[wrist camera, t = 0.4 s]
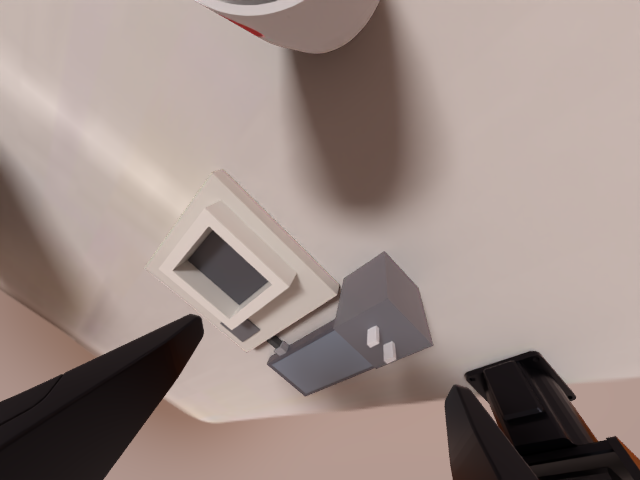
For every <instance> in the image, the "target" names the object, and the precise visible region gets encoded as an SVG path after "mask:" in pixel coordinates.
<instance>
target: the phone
mask: <svg viewBox="0 0 640 480" xmlns="http://www.w3.org/2000/svg"><path fill="white" fill-rule="evenodd" d="M334 323H335V319H334V320H333V321H331V322H329V323H327V324H326V325H324V326H322V327H320V328H319V329H317V330H315V331H314V332H312V333H310V334H308V335H307V336H305V337H303V338H302V339H300V340H298V341H296V342H295V343H293V344H291V345H290V346H289V347H288V350H287V352H286V353H285V354H283V355H281V356H279V355H278V354H277V353H276V354H274V355H272V356H271V357H270V358H269V360H268V362H267V365H268V366H269V367H271V368H272V369H273V370H274V371H275V372H277V373H278V374H279V375H280V376H281V377H283V378H284V379H285V380H286V381H287V382H289V383H290V384H291V385H292V386H293V387H295V388H296V389H297V390H298V391H299V392H301V393H302V394H303V395H304V396H307V395H310V394H312V393H315V392H317V391H320V390H322V389H324V388H327V387H329V386H332V385H334V384H337V383H339V382H341V381H344V380H346V379H349V378H351V377H354V376H356V375H358V374H361V373H363V372H366V371H368V370H371V369H373V368H375V367H374V366H373V365H371V364H370V363H369V362H368V361H367V360H366V359H365V358H364V357H363V356H362V355H361V354H360V353H359V352H358V351H356V350H355V349H354V348H353V347H352V346H351V345H350V344H349V343H348V342H347V341H346V340H345V339H344V338H343V337H341V336H340V335H339V334H338V333H337V332H336V331H335V330H334V329H333V327H334Z"/></svg>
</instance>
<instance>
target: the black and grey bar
mask: <svg viewBox="0 0 640 480" xmlns="http://www.w3.org/2000/svg"><path fill="white" fill-rule="evenodd" d="M266 341H267V342H268V343H270V344H271V345H272V346H273V347H274V348H275V350H274V352H275V353H277V354H278V355H279V356H281V355H283V354H285V353H286V352H287V350H288V347H289V345H288V344H287V343H286V342H284V341H281V340H280V339H279V338H277V337H276V336H275V335H274V336H272V337H271V338H269V339H268V340H266Z"/></svg>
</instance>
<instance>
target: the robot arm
mask: <svg viewBox="0 0 640 480" xmlns="http://www.w3.org/2000/svg"><path fill="white" fill-rule="evenodd" d="M203 334H204V329H203V324H202V319H201V317H200V316H197V315H193V314H189V315H187V316H184V317H182V318H180V319H178V320H176V321H174V322H172V323H170V324H167V325H165V326H163V327H161V328H159V329H157V330H155V331H153V332H150V333H148V334H146V335H144V336H142V337H140V338H138V339H136V340H133V341H131V342H129V343H127V344H125V345H123V346H121V347H119V348H116V349H114V350H112V351H110V352H108V353H106V354H104V355H102V356H99V357H97V358H95V359H93V360H91V361H89V362H87V363H85V364H82V365H80V366H78V367H76V368H74V369H72V370H70V371H68V372H66V373H64V375H63V374H61V375H59V376H57V377H55V378H53V379H50V380H48V381H46V382H44V383H42V384H40V385H37V386H35V387H33V388H31V389H29V390H27V391H24V392H22V393H20V394H18V395H16V396H13V397H11V398H8V399H6V400H4V401H1V402H0V480H103V479H104V478H105V477H106V475H107V474H108V472H109V471H110V470H111V468H112V467H113V466H114V464H115V463H116V462H117V460H118V459H119V458H120V456H121V455H122V453H123V452H124V451H125V449H126V448H127V447H128V445H129V444H130V443H131V441H132V440H133V438H134V437H135V436H136V434H137V433H138V431H139V430H140V429H141V427H142V426H143V425H144V423H145V422H146V421H147V419H148V418H149V416H150V415H151V414H152V412H153V411H154V410H155V408H156V407H157V406H158V404H159V403H160V402H161V400H162V399H163V397H164V396H165V395H166V393H167V392H168V391H169V389H170V388H171V387H172V385H173V384H174V382H175V381H176V380H177V378H178V377H179V375H180V374H181V372H182V370H183V369H184V367H185V366H186V364H187V362H188V361H189V359H190V357H191V356H192V354H193V352H194V351H195V349H196V347H197V346H198V344H199V342H200V341H201V339H202V337H203ZM465 377H466V380H467V381H468V382H469V383H470V384H471V385H472V386H473V387H474V388H475V389H476V391H477V392H478V393H479V394H480V395H481V396H482V397H483V398H484V399H485V400H486V401H487V402H488V403H489V404H490V407H491V409H492V412H493V414H494V417H495V419H496V422H497V424H498V425H497V424H496V423H495V421H494V420H493V419H492V417H491V416H490V415H489V414H488V412H487V411H486V410H485V408H484V407H483V406H482V404H481V403H480V402H479V400H478V399H477V398H476V396H475V395H474V394H473V393H472V391H471V390H470V389H469V388H467V387H464V386H460V385H453V386H452V388H451V390H450V392H449V394H448V396H447V398H446V400H445V415H446V426H447V436H448V447H449V457H450V466H451V471H452V477H453V480H640V460H639V459H638V458H637V457H636V456H635V455H634V454H633V453H632V452H631V451H630V450H629V449H628V448H627V447H626V446H625V445H624V444H623V443H622V442H621V441H620V440H619V439H618V438H617V437H616V436H614V437H610V438H606V439H607V440H604V441H598V440H597V439H596V438H595V436H594V435H593V433H592V432H591V430H590V429H589V427H588V426H587V425H586V423H585V422H584V420H583V419H582V417H581V416H580V415H579V413H578V412H577V410H576V409H575V407H574V406H573V405H572V403H571V402H570V401H573V400H575V399H576V396H575V395H574V393H573V392H572V390H571V389H570V388H569V387H568V386H567V385H566V383H565V382H564V381H563V380H562V379H561V378H560V376H559V375H558V374H557V373H556V372H555V370H554V369H553V368H552V367H551V366H550V365H549V363H548V362H547V361H546V360H545V359H544V358H543V356H542V355H541V354H540V353H539V352H536V351H532V352H528V353H525V354H522V355H519V356H516V357H513V358H510V359H507V360H504V361H501V362H498V363H495V364H492V365H489V366H486V367H483V368H480V369H477V370H474V371H471V372H468V373H466V374H465Z"/></svg>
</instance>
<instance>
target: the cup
mask: <svg viewBox="0 0 640 480" xmlns="http://www.w3.org/2000/svg"><path fill="white" fill-rule="evenodd" d="M195 1H196V2H198V3H200V4H202V5H203V6H205V7H207V8H209V9H210V10H212V11H214V12H216V13H217V14H219V15H221V16H223V17H224V18H226V19H228V20H230V21H231V22H233V23H235V24H237V25H238V26H240V27H242V28H244V29H245V30H247V31H249V32H251V33H252V34H254V35H256V36H258V37H259V38H261V39H263V40H265V41H267V42H269V43H271V44H274V45H277V46H281V47H285V48H289V49H293V50H297V51H301V52H305V53H312V54H319V53H326V52H330V51H333V50H335V49H338V48H340V47H342V46H343V45H345V44H346V43H348V42H349V41H350V40H352V39H353V38H354V37H355V36H356V35H357V34H358V33H359V32H360V31H361V30H362V29H363V28H364V26H365V25H366V24H367V22H368V21H369V19H370V18H371V16H372V15H373V13H374V11H375V9H376V7H377V5H378V3H379V1H380V0H195Z"/></svg>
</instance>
